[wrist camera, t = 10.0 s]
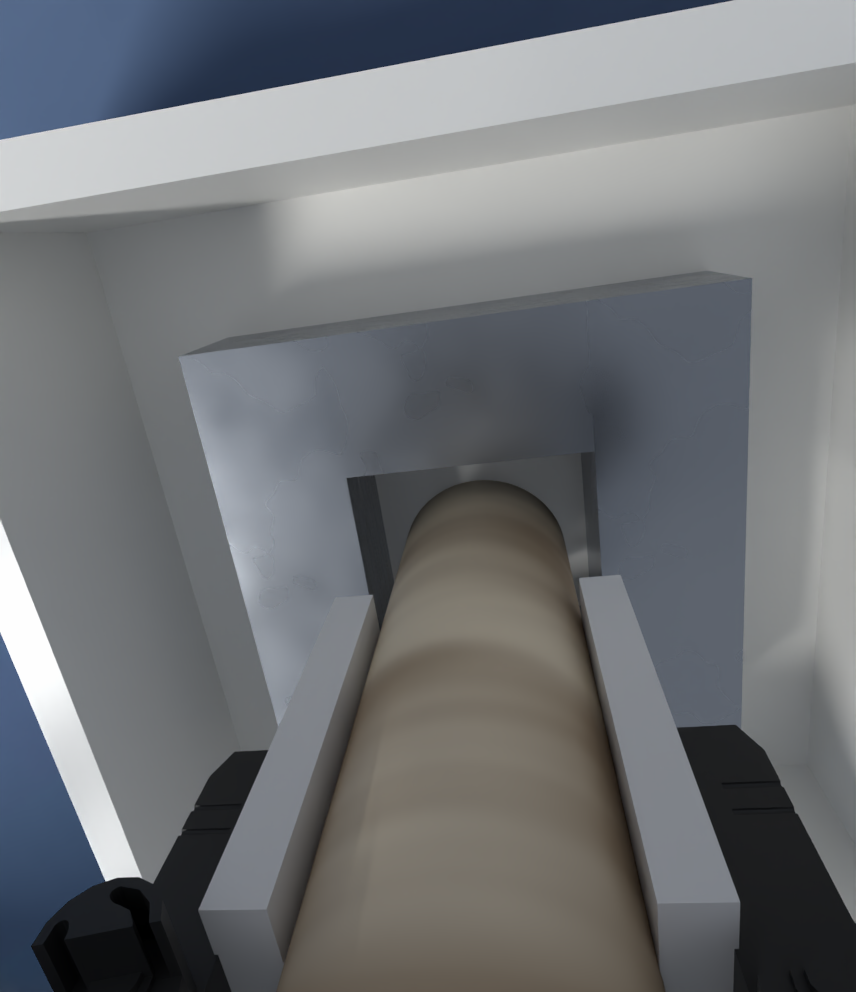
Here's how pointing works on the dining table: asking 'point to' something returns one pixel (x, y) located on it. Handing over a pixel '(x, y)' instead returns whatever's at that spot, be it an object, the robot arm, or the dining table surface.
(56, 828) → the dining table surface
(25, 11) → the dining table surface
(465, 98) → the box
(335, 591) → the bore plate
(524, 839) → the peg
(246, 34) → the dining table surface
